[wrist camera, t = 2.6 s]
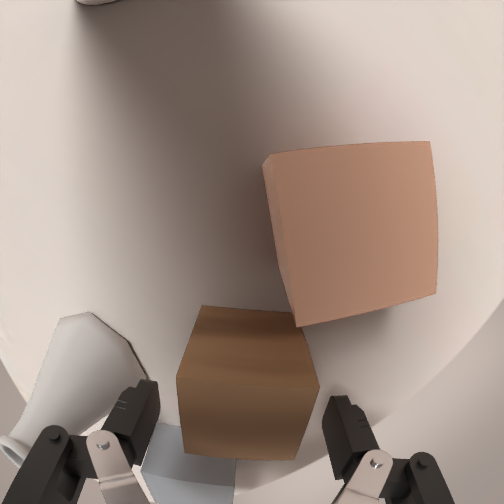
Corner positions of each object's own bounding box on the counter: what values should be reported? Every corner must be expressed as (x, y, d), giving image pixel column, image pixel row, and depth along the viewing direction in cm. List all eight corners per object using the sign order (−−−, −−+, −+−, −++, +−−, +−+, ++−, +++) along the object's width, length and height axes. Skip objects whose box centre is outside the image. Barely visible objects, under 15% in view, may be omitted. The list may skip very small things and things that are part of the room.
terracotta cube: (261, 166, 13) (270, 153, 7) (360, 153, 12) (429, 141, 7) (278, 267, 14) (296, 327, 8) (371, 250, 14) (435, 293, 8)
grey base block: (157, 421, 17) (140, 471, 12) (237, 432, 17) (234, 486, 12) (166, 459, 19) (155, 502, 14) (233, 468, 19) (231, 513, 14)
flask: (166, 379, 16) (119, 513, 6) (104, 407, 17) (55, 503, 7) (90, 290, 14) (-24, 391, 5) (41, 336, 15) (-38, 415, 6)
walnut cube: (202, 304, 14) (175, 377, 9) (296, 312, 15) (320, 386, 9) (201, 376, 16) (184, 453, 10) (282, 382, 16) (293, 459, 10)
